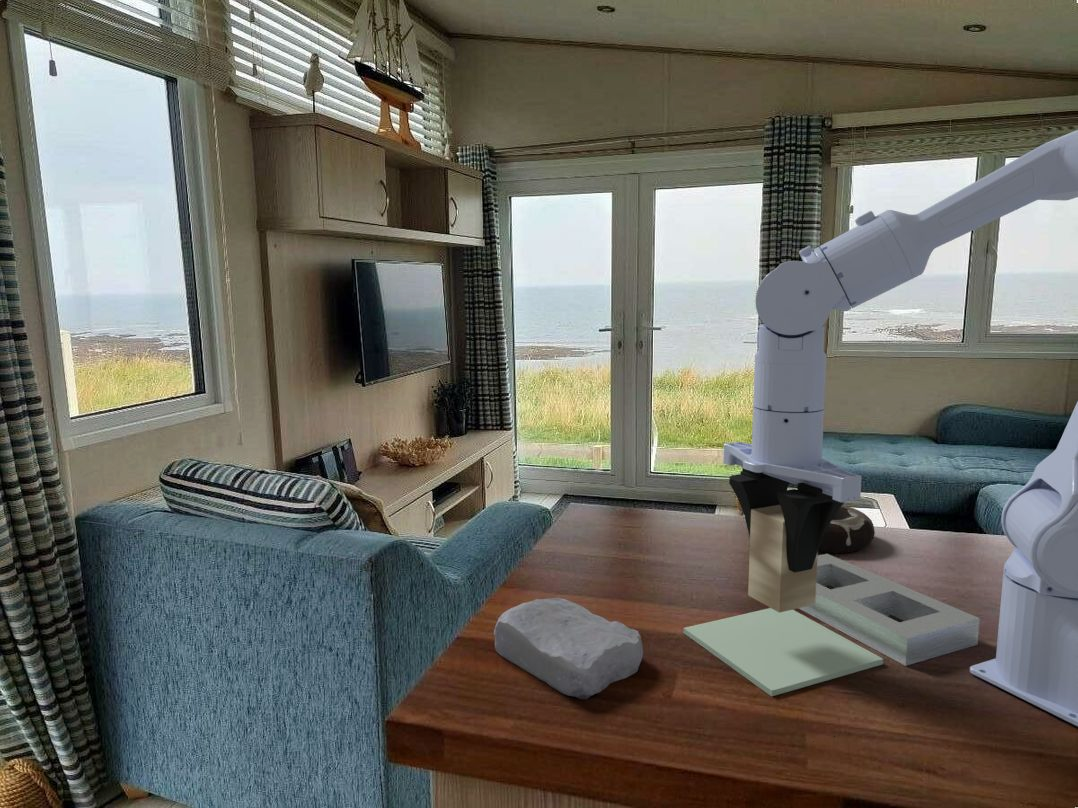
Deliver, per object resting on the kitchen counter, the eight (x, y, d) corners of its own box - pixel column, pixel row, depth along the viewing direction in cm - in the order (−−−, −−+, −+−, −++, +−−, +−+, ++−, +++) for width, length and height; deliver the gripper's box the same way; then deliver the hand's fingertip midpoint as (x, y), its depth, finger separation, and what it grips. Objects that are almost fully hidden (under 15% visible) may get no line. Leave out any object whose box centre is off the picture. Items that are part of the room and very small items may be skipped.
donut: (773, 551, 90) (774, 520, 90) (777, 523, 101) (778, 495, 100) (877, 562, 86) (879, 530, 86) (869, 531, 97) (871, 502, 96)
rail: (977, 644, 66) (979, 618, 65) (905, 665, 62) (907, 638, 62) (826, 575, 82) (827, 553, 82) (762, 588, 79) (762, 566, 78)
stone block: (562, 639, 72) (481, 652, 65) (570, 591, 72) (490, 599, 65) (655, 692, 63) (572, 713, 57) (665, 638, 63) (583, 653, 56)
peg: (815, 604, 64) (819, 515, 63) (779, 612, 62) (783, 522, 61) (782, 587, 68) (786, 503, 66) (748, 595, 66) (751, 509, 65)
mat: (882, 664, 63) (883, 658, 62) (771, 696, 58) (771, 690, 58) (783, 609, 73) (784, 604, 73) (683, 632, 69) (683, 627, 69)
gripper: (698, 399, 67) (694, 541, 69) (815, 425, 54) (806, 599, 56) (759, 394, 70) (754, 531, 72) (885, 417, 57) (874, 584, 59)
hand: (781, 560), depth 64 cm, fingers closed on peg, 4 cm apart
